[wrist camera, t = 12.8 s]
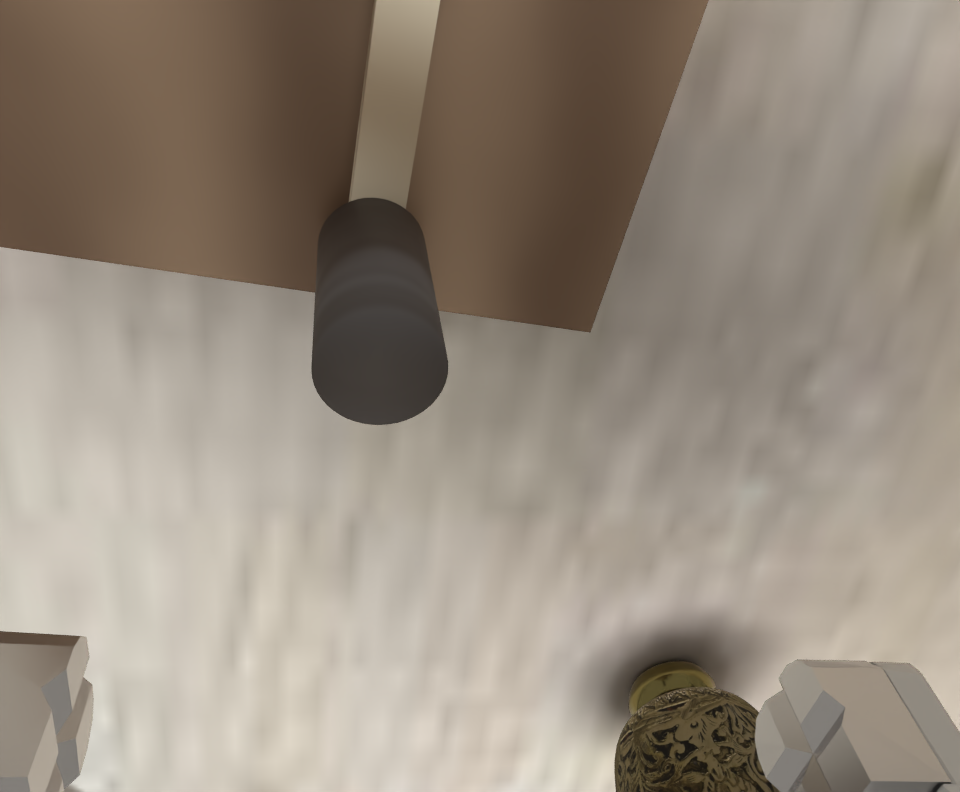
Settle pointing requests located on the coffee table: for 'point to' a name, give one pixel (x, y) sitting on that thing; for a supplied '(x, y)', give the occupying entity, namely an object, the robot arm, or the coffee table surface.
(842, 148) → the coffee table surface
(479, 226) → the board
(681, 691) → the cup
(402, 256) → the tuning crank
